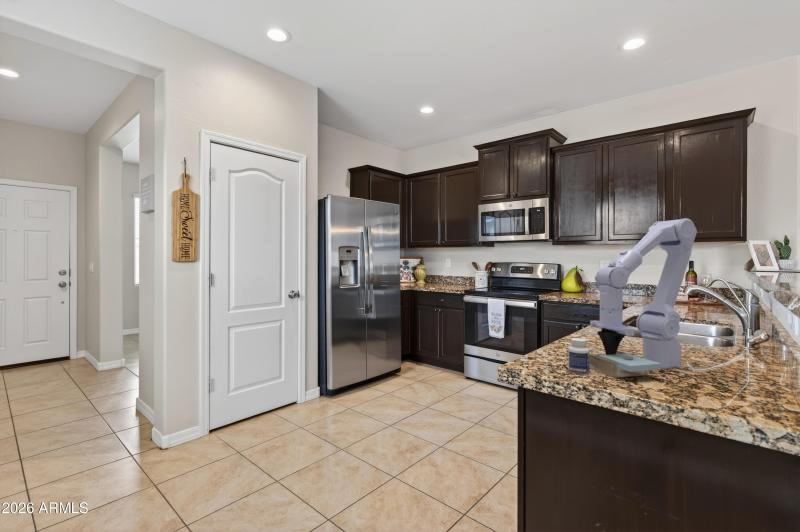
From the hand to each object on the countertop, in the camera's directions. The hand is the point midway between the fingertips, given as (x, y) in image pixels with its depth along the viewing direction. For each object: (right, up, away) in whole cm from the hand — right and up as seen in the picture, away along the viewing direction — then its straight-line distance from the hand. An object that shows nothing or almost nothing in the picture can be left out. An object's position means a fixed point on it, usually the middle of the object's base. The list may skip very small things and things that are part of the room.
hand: (610, 356), depth 109 cm
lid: (+1, -1, -6) cm, 6 cm away
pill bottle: (-10, -5, -2) cm, 11 cm away
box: (0, -4, -1) cm, 4 cm away
